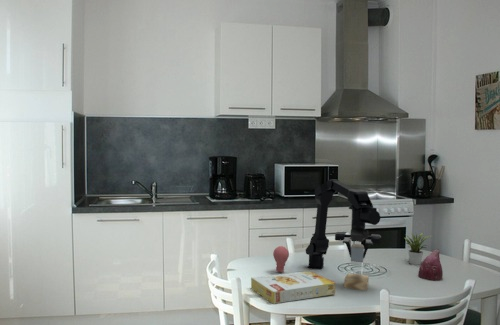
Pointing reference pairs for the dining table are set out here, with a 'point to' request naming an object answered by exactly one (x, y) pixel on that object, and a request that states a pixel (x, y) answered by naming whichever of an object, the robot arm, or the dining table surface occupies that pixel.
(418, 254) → the house plant
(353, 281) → the block
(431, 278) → the vegetable
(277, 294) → the cereal box
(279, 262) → the light bulb
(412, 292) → the dining table surface
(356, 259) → the grey box
